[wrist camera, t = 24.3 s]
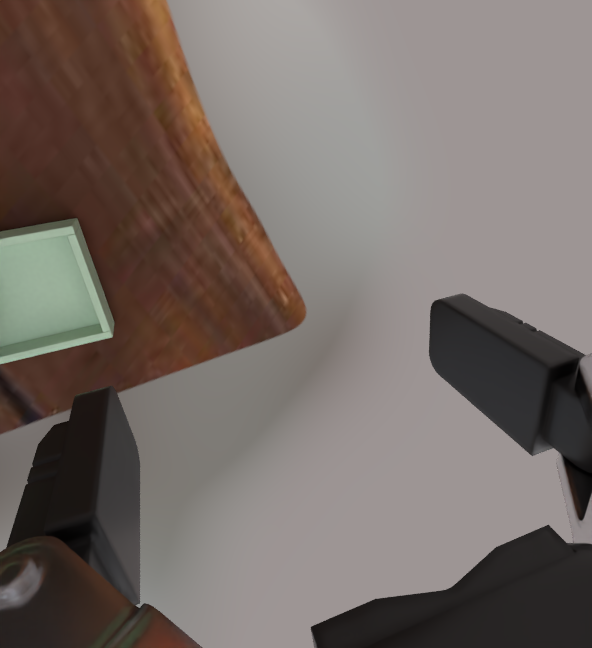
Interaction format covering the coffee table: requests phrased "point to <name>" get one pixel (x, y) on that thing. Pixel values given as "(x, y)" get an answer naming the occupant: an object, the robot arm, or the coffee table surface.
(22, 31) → the coffee table surface
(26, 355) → the tray
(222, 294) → the coffee table surface
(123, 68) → the coffee table surface
